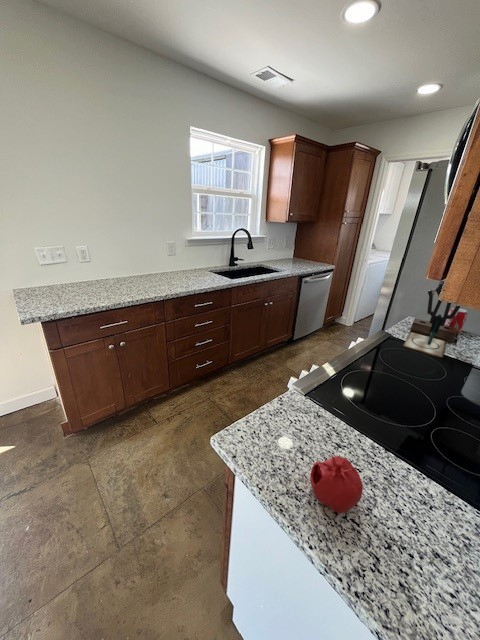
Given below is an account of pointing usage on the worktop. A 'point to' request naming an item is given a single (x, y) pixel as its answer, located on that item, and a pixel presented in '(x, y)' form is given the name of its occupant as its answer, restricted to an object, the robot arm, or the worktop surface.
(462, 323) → the soda can
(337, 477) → the pomegranate
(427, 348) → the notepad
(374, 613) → the worktop surface
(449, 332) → the pen holder
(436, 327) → the pen
